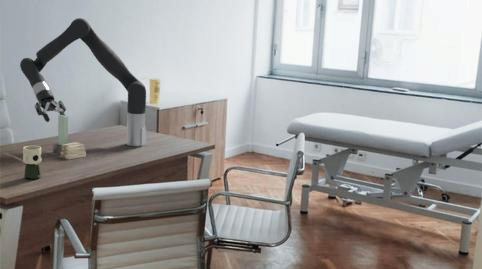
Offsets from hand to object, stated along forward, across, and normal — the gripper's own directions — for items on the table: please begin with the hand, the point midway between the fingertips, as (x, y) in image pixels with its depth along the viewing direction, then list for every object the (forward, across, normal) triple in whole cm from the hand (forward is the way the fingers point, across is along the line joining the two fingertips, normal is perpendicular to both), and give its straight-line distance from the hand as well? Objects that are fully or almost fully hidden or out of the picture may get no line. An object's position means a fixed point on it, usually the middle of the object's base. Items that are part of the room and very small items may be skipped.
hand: (56, 120), depth 281 cm
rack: (+17, 0, +5) cm, 18 cm away
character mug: (+33, -31, -10) cm, 46 cm away
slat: (+14, 0, +7) cm, 16 cm away
